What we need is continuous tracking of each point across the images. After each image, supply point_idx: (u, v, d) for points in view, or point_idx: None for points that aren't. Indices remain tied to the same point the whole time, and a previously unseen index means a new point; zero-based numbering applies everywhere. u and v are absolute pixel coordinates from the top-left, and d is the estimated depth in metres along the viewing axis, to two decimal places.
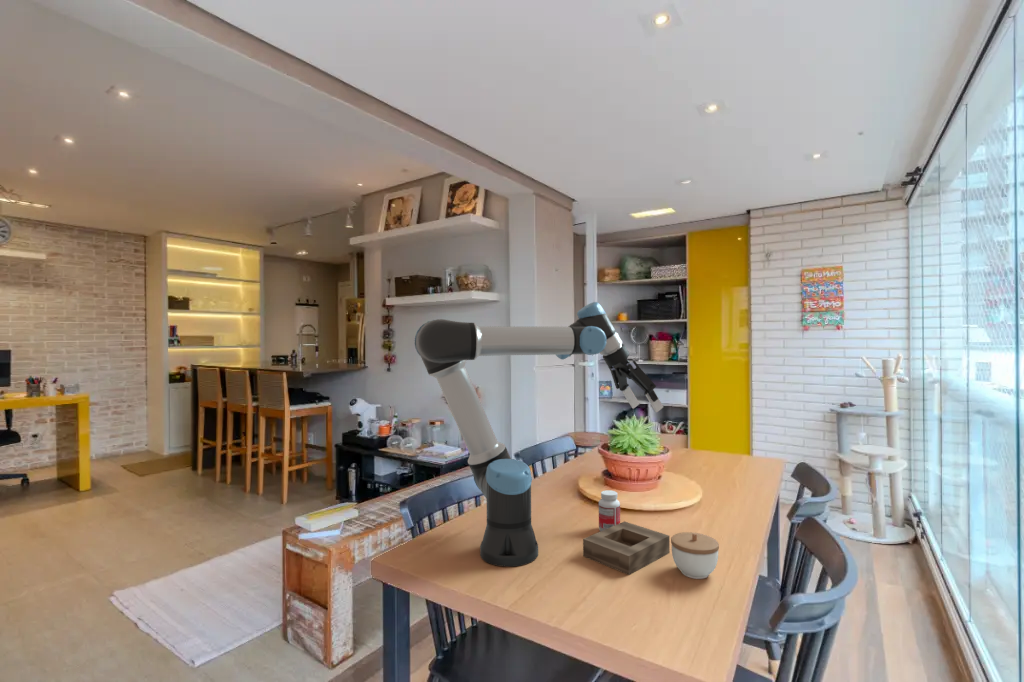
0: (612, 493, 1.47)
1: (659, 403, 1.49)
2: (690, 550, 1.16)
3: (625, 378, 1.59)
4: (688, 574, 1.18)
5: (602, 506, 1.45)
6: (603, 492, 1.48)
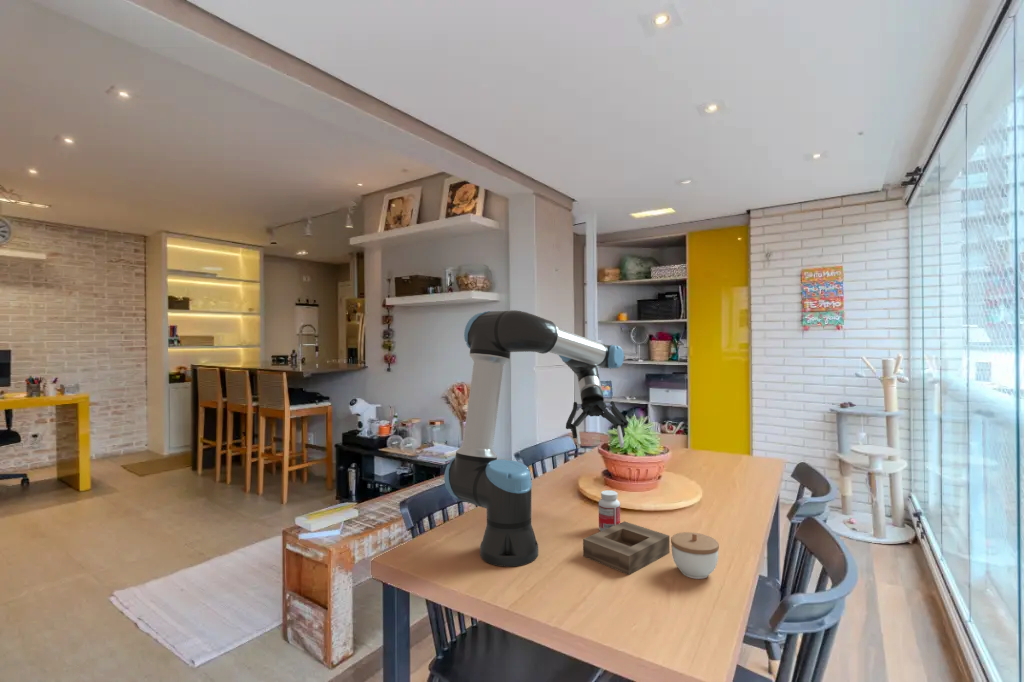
0: (612, 493, 1.47)
1: None
2: (690, 550, 1.16)
3: (582, 420, 1.66)
4: (688, 574, 1.18)
5: (602, 506, 1.45)
6: (603, 492, 1.48)
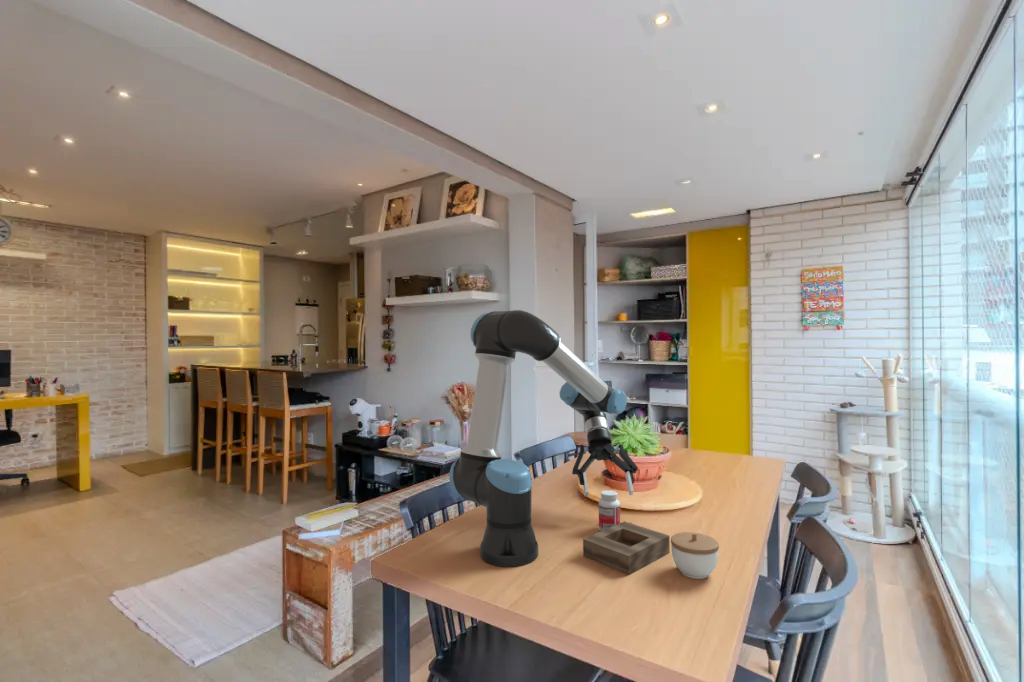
0: (612, 493, 1.47)
1: None
2: (690, 550, 1.16)
3: (589, 465, 1.59)
4: (688, 574, 1.18)
5: (602, 506, 1.45)
6: (603, 492, 1.48)
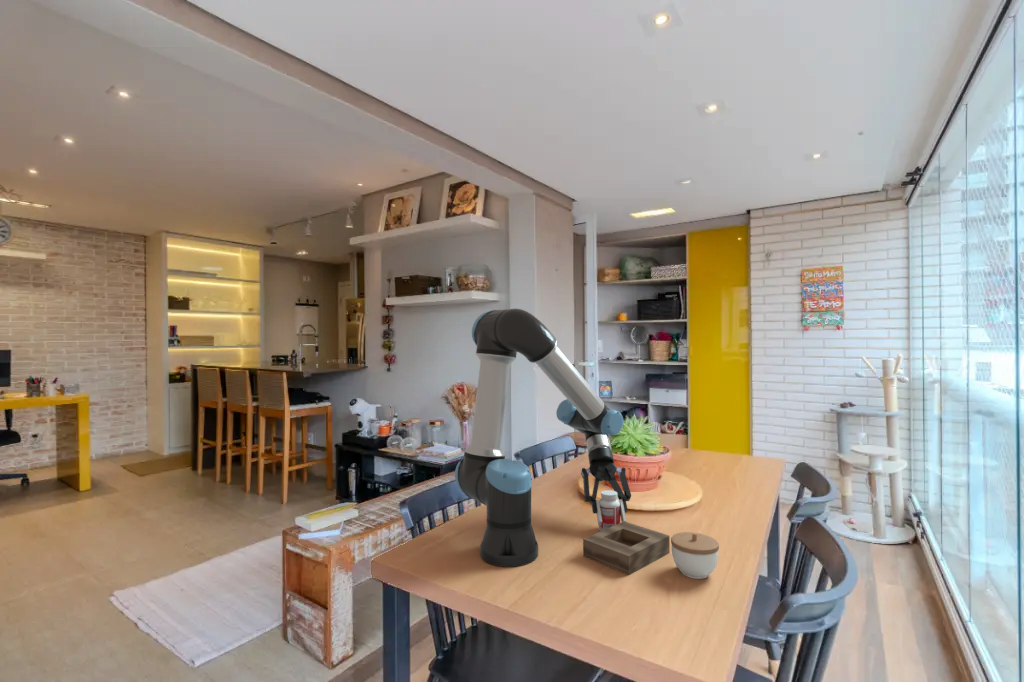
0: (612, 492, 1.47)
1: None
2: (690, 550, 1.16)
3: None
4: (688, 574, 1.18)
5: (602, 506, 1.45)
6: (603, 492, 1.48)
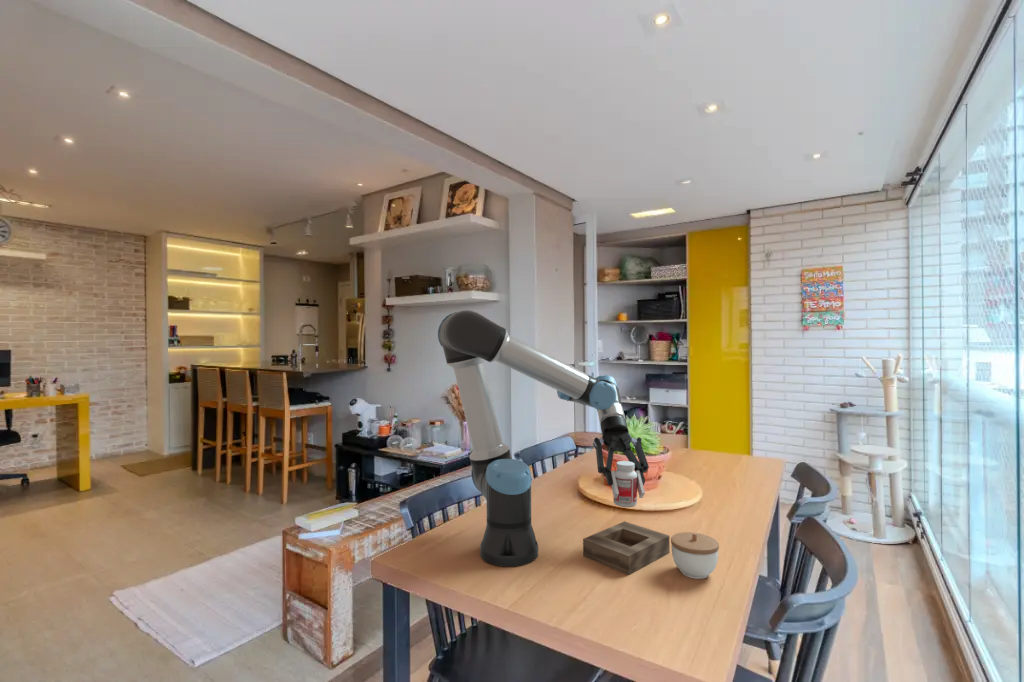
0: (629, 463, 1.35)
1: None
2: (690, 550, 1.16)
3: None
4: (688, 574, 1.18)
5: (618, 478, 1.33)
6: (619, 462, 1.36)
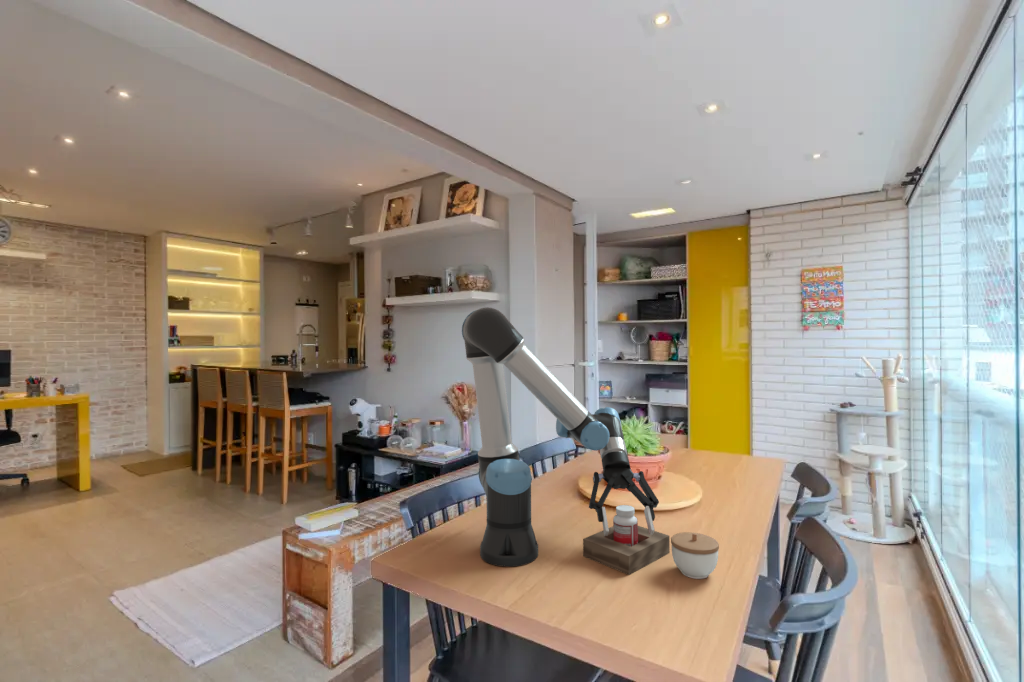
0: (629, 508, 1.31)
1: None
2: (690, 550, 1.16)
3: None
4: (688, 574, 1.18)
5: (617, 524, 1.29)
6: (618, 507, 1.31)
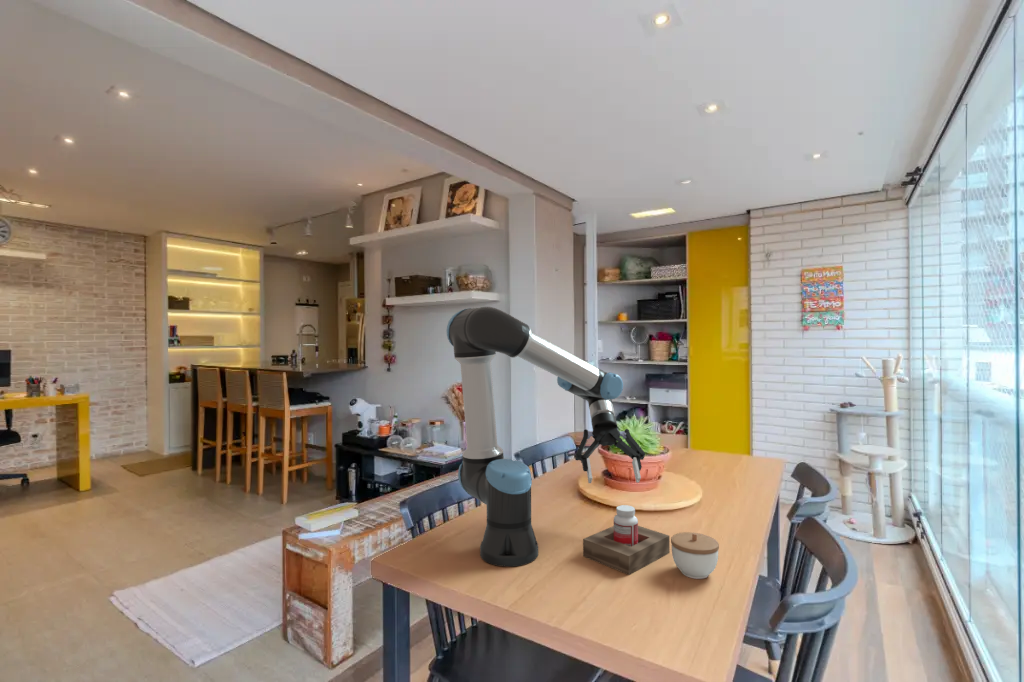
0: (629, 508, 1.31)
1: None
2: (690, 550, 1.16)
3: (593, 450, 1.50)
4: (688, 574, 1.18)
5: (617, 524, 1.29)
6: (619, 507, 1.31)
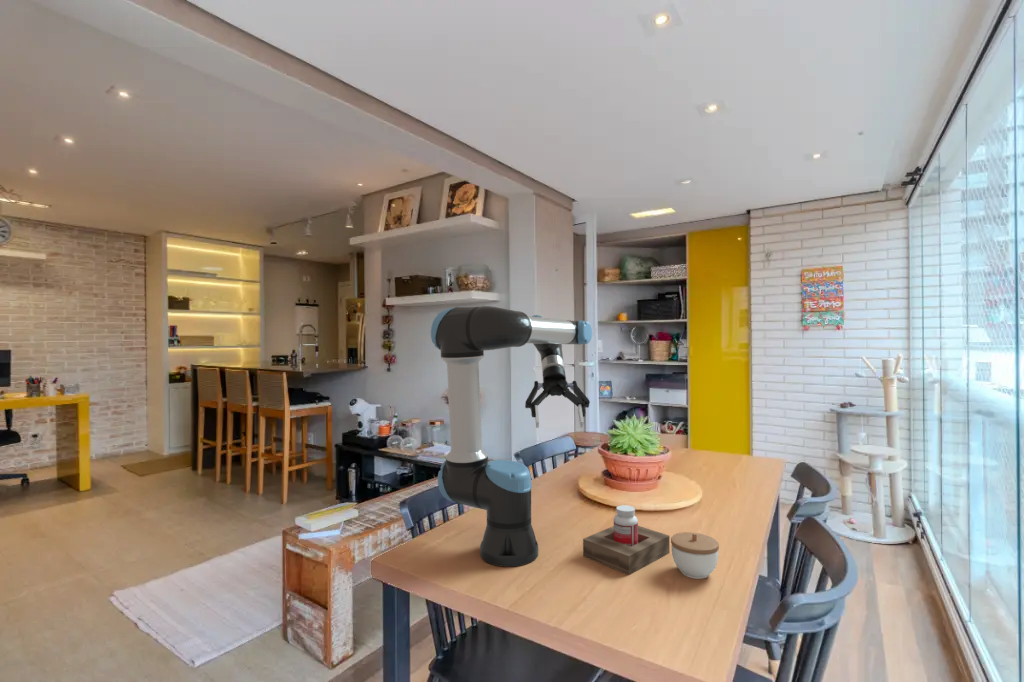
0: (629, 508, 1.31)
1: None
2: (690, 550, 1.16)
3: (542, 399, 1.61)
4: (688, 574, 1.18)
5: (617, 524, 1.29)
6: (619, 507, 1.31)
